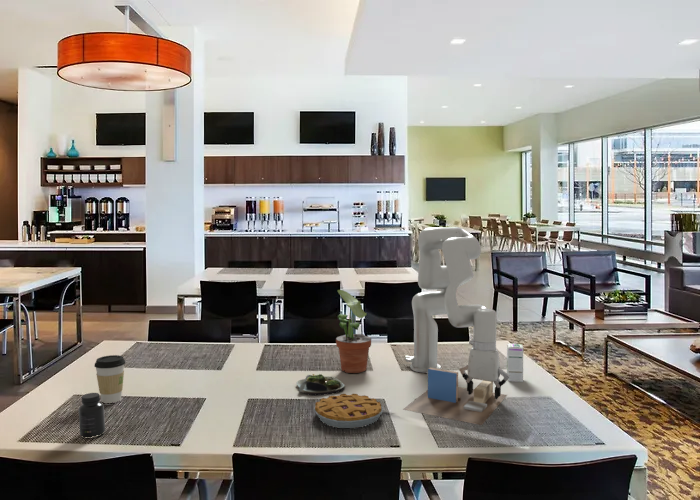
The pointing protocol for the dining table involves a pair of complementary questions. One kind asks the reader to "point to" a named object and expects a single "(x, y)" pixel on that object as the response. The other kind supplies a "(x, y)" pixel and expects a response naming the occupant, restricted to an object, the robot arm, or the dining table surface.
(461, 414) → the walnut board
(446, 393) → the tile
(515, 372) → the syrup box
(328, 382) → the salad plate
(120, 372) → the coffee cup
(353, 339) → the potted plant
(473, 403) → the tan bar
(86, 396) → the supplement bottle
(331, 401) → the pie
